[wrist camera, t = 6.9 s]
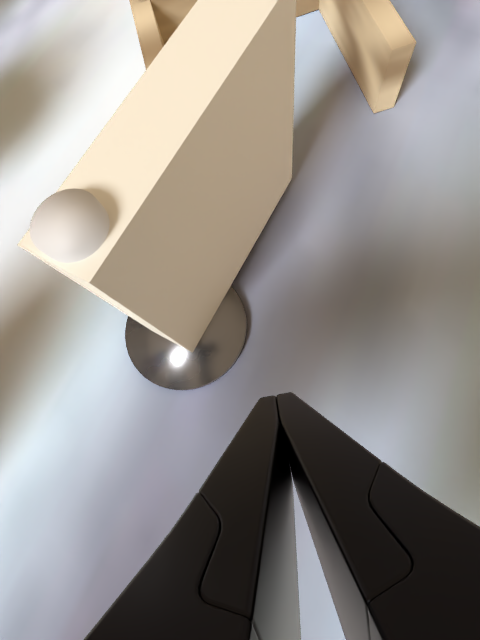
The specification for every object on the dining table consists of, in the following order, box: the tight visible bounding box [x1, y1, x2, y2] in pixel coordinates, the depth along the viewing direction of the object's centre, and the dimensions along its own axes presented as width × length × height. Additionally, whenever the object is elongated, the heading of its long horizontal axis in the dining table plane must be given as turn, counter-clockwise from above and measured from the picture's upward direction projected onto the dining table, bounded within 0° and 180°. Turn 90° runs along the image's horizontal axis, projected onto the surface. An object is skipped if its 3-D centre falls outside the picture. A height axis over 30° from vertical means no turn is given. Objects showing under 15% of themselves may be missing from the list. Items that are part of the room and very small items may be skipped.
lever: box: [18, 0, 296, 353], centre depth 13 cm, size 2×11×9 cm, turn 152°
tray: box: [129, 0, 416, 113], centre depth 20 cm, size 11×13×4 cm
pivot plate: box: [125, 286, 247, 390], centre depth 17 cm, size 6×6×1 cm
